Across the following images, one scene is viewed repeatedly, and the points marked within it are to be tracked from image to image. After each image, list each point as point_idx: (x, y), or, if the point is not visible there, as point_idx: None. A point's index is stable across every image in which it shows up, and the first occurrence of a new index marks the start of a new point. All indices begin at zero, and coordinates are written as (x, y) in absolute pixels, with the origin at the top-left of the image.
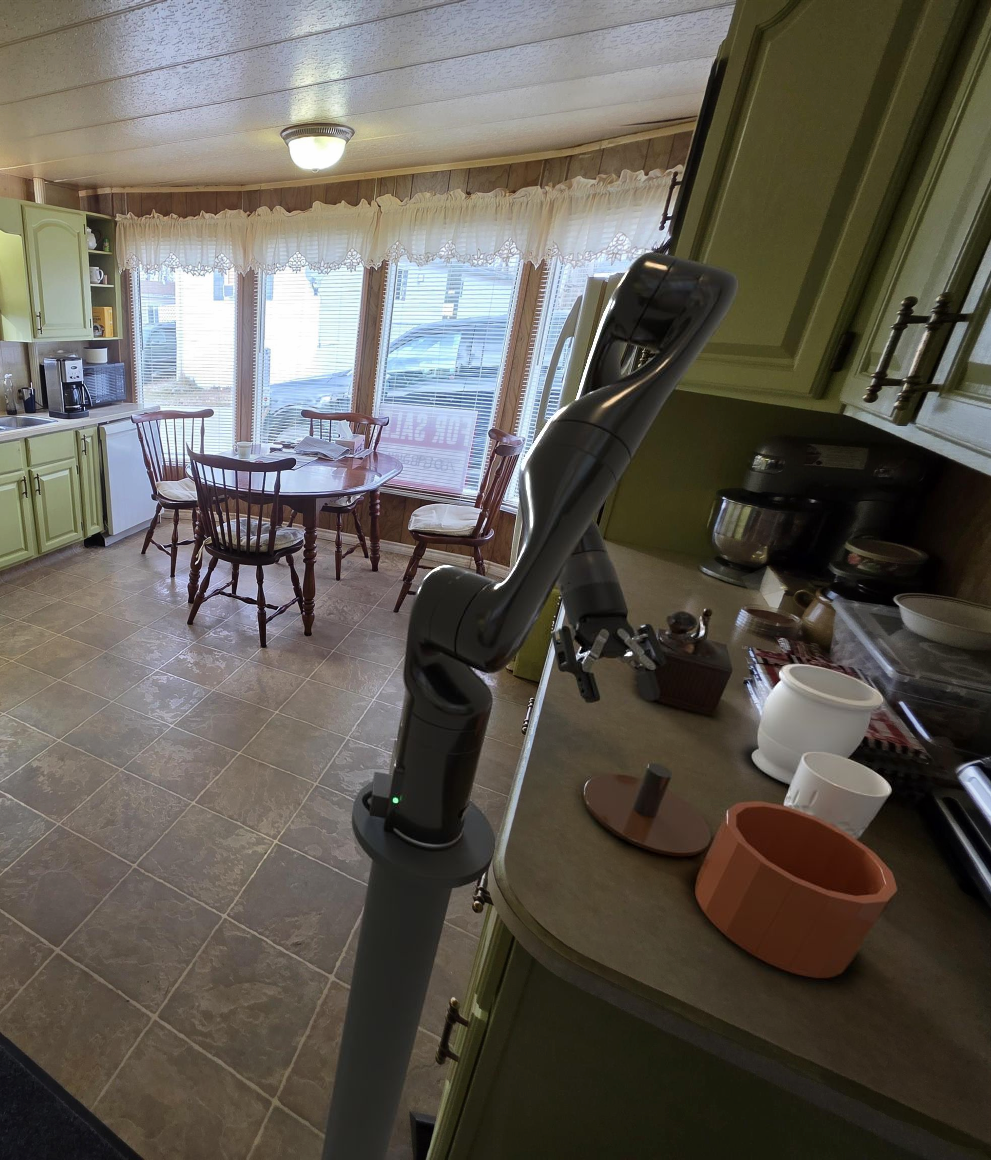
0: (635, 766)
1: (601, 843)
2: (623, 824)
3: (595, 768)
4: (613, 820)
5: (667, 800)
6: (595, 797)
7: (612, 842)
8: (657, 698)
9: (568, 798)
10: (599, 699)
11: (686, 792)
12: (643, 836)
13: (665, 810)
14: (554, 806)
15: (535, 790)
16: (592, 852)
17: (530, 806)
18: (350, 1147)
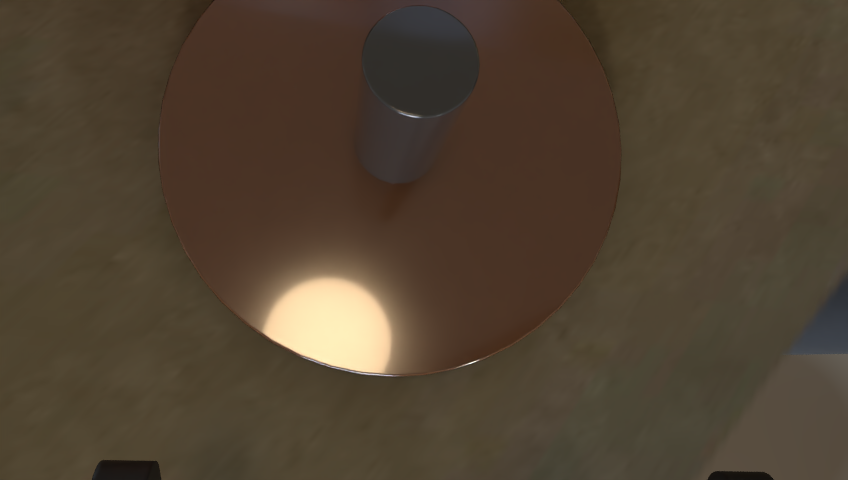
0: (153, 460)
1: (649, 57)
2: (548, 82)
3: (372, 463)
4: (573, 107)
5: (241, 180)
6: (560, 235)
7: (605, 55)
8: (115, 460)
9: (629, 288)
10: (719, 473)
11: (54, 262)
12: (513, 18)
13: (303, 127)
14: (714, 252)
15: (741, 349)
16: (708, 26)
17: (810, 263)
18: None
